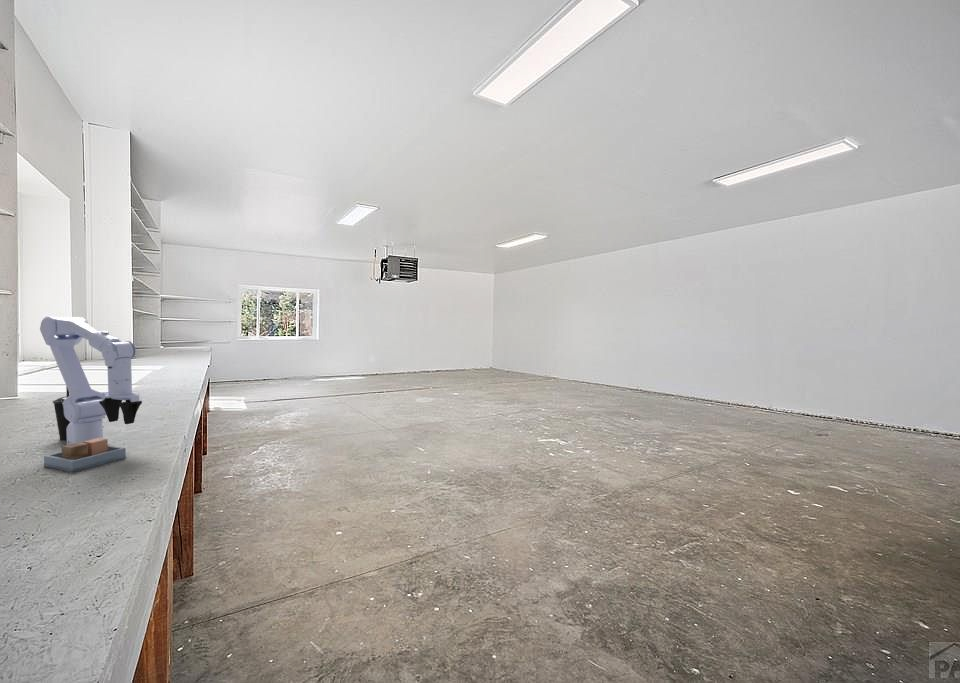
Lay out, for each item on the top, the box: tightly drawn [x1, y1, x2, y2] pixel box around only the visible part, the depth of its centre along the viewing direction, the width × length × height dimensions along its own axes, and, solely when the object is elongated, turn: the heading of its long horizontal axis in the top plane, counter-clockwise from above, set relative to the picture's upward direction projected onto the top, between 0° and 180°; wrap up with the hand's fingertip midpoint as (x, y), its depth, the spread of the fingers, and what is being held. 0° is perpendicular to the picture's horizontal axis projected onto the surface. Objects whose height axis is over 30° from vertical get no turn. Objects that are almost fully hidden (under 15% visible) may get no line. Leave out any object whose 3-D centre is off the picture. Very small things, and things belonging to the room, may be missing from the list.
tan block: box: [61, 442, 88, 460], centre depth 122 cm, size 4×4×5 cm
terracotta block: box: [83, 437, 109, 457], centre depth 126 cm, size 4×4×5 cm
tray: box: [43, 444, 127, 473], centre depth 124 cm, size 13×13×3 cm
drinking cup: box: [52, 385, 70, 441], centre depth 147 cm, size 8×8×20 cm
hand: (121, 422), depth 133 cm, fingers open, 7 cm apart
